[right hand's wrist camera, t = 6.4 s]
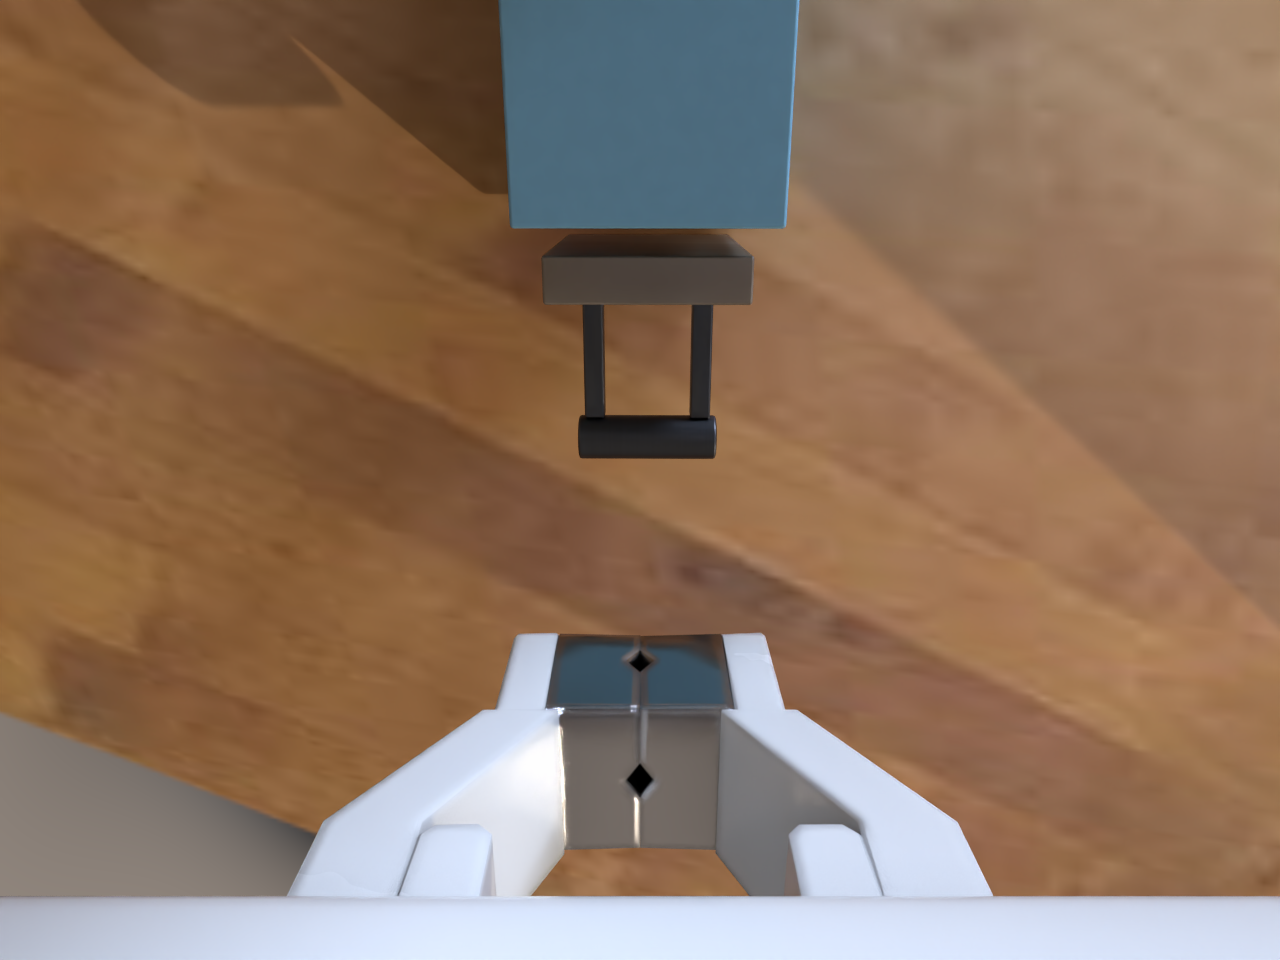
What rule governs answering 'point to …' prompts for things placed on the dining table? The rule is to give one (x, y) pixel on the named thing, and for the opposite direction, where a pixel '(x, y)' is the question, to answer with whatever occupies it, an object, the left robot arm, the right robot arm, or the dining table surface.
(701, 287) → the drawer
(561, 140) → the light blue box block
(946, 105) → the dining table surface
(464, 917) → the right robot arm
